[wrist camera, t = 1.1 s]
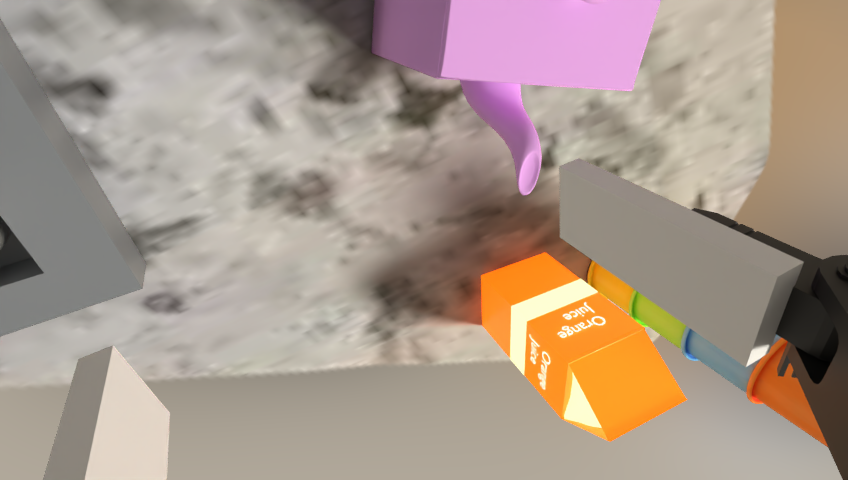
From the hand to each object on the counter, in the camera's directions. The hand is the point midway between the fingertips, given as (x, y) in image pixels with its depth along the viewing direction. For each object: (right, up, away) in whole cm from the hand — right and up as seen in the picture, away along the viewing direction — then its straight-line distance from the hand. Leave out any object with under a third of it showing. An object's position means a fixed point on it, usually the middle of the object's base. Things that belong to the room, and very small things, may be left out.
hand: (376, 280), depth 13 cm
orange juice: (+12, -5, +40) cm, 42 cm away
